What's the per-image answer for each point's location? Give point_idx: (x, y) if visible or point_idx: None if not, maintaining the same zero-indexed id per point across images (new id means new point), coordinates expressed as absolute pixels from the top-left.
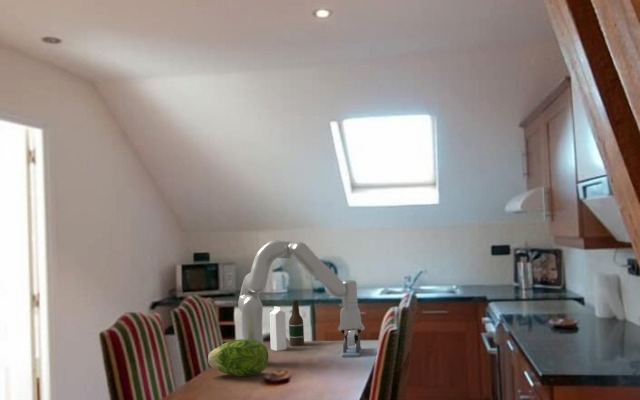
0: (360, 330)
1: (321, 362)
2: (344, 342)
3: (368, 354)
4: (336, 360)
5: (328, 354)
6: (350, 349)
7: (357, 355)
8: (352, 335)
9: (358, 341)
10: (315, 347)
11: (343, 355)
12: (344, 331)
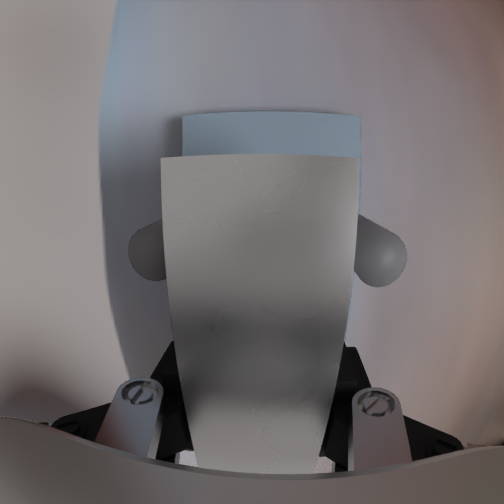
0: (56, 427)
1: (466, 7)
2: (375, 228)
3: (120, 225)
4: (386, 21)
5: (464, 259)
6: None
7: (202, 115)
8: (216, 309)
9: (139, 232)
10: (471, 434)
11: (348, 117)
12: (401, 454)
